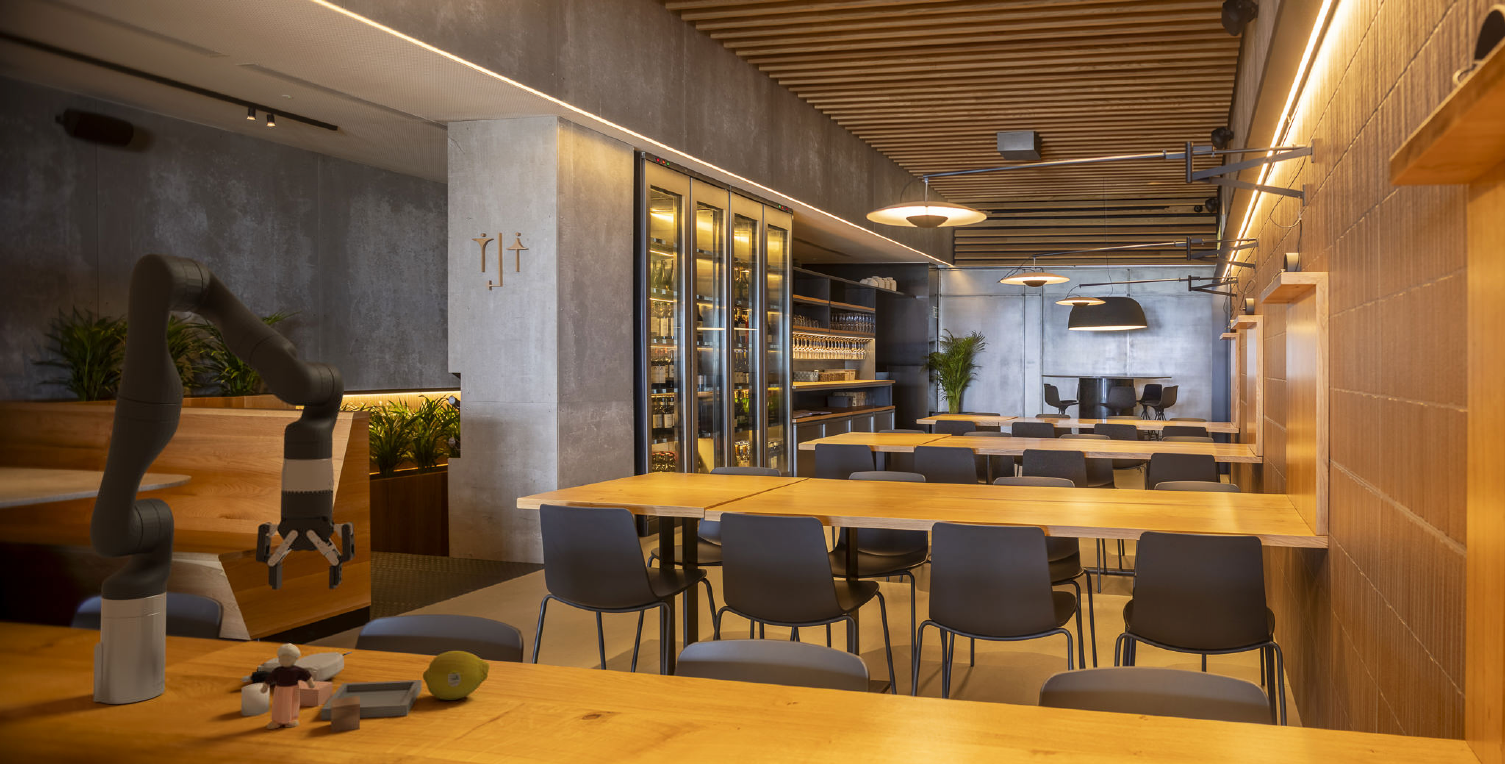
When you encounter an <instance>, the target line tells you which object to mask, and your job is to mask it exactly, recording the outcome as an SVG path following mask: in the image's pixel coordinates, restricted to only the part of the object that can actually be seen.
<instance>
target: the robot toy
mask: <svg viewBox="0 0 1505 764" xmlns="http://www.w3.org/2000/svg"><path fill="white" fill-rule="evenodd" d="M352 653H353V652H352V651H347V652H346V653H343V654H341V653H340V652H337V651H336V652H319V653H314V654H309V655H305V656H304V657H302V658H298V659H297V660H296V662H295V664H293V665H296V666H299V667H302V668H304V669H305V670H307V671H308V672H309V673H311V674H312V679H313V681H321V682H325V681H326V680H328V679H331V678H333V677H335V676H337V675H338V674H339V673H340V672H341V671H343V669H344V667H345V660H344V658H345V657H344V656H348V655H351V654H352ZM279 666H282V665H280V663H279V658H278V657H274V658H271V659H269V660H267V661H266V662H263V664H259V665H257V668H256V671H252V672H251V675H250V674H249V675H245V676H244V675H243V677H241V683H248V682H251V683H252V684H257V683H264V680H265V679H266V678H267V676H268V675H269V674H270V673H271V672H272V671H273V670H274V669H275V668H276V667H279ZM298 681H299V680H298ZM276 682H277V681H276ZM276 682H274V683H272V684H271V685H276Z"/></svg>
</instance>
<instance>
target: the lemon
mask: <svg viewBox="0 0 1505 764" xmlns="http://www.w3.org/2000/svg"><path fill="white" fill-rule="evenodd" d="M489 670H490V664H489V662H488V661H486V660H484V659H482V658H480V657H479V656H477V655H475V654H473V653H471V652H467V651H462V650H451V651H447V652H443V653H440V654H438V655H436V656H435V657H434V658H433V659H432V660H431V662H430V664H429V666H428V668H427V669H426V670H425V671H424V672H423V673H422V678H423V680H424V682H425V683H426V687H427V690H428V692H429V693H430V694H431V695H432V696H433V697H435V698H437V699H439V700H444V701H456V700H459V699H462V698H464V697H466V696H469V695H471V694H472V693H474V692H475V691H476V690H477V689H478V688H479V687H480V686H481V685H482V684H483V682H485V681H486V680H487V679H488V673H489Z"/></svg>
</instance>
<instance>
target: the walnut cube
mask: <svg viewBox="0 0 1505 764" xmlns="http://www.w3.org/2000/svg"><path fill="white" fill-rule="evenodd" d="M360 719H361V718H360V699H359V696H354V697H346V698H337V699H331V719H330V733H331V734H333V733H340V732H348V731H356V730H360V728H361V726H360V725H361V724H360V722H361V720H360Z"/></svg>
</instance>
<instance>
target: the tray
mask: <svg viewBox="0 0 1505 764" xmlns="http://www.w3.org/2000/svg"><path fill="white" fill-rule="evenodd" d="M422 682H423V681H422V680H421V679H414V680H413V679H412V680H411V679H410V680H409V679H408V680H388V681H385V680H384V681H369V682H368V681H365V682H364V681H363V682H344V683H342V684H341V685H340V686H339V687H338V688H337V690H336V691H335V692H334V693H332V697H331V698H330V699H329V700H328V701H327V702H325V703H324V705H323V706H322V707H321V709H320V720H321V721H322V720H323V721H327V720H328V721H329V720H331V699H337V698H346V697H354V696H359V699H360V719H366V718H368V719H369V718H386V717H387V718H388V717H389V718H390V717H406V716H408V715H409V713H410V710H411V709H412V707H414V704H415V702H416V700H417V698H418V697H417V696H419V695H420V693H421V691H422Z"/></svg>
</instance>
